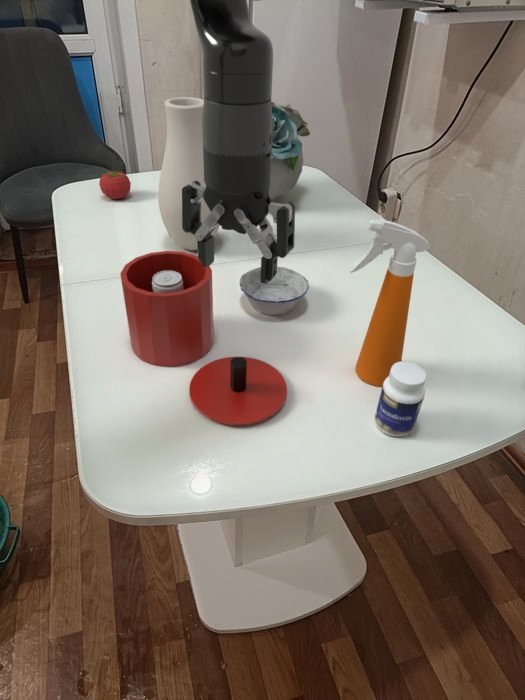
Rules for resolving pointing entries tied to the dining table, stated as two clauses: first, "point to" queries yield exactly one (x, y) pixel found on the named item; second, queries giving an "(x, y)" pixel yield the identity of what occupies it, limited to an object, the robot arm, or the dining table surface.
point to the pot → (169, 309)
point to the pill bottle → (401, 399)
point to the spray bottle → (389, 299)
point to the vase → (182, 166)
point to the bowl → (274, 290)
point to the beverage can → (167, 282)
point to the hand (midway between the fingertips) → (236, 272)
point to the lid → (238, 390)
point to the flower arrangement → (286, 149)
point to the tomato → (115, 184)
